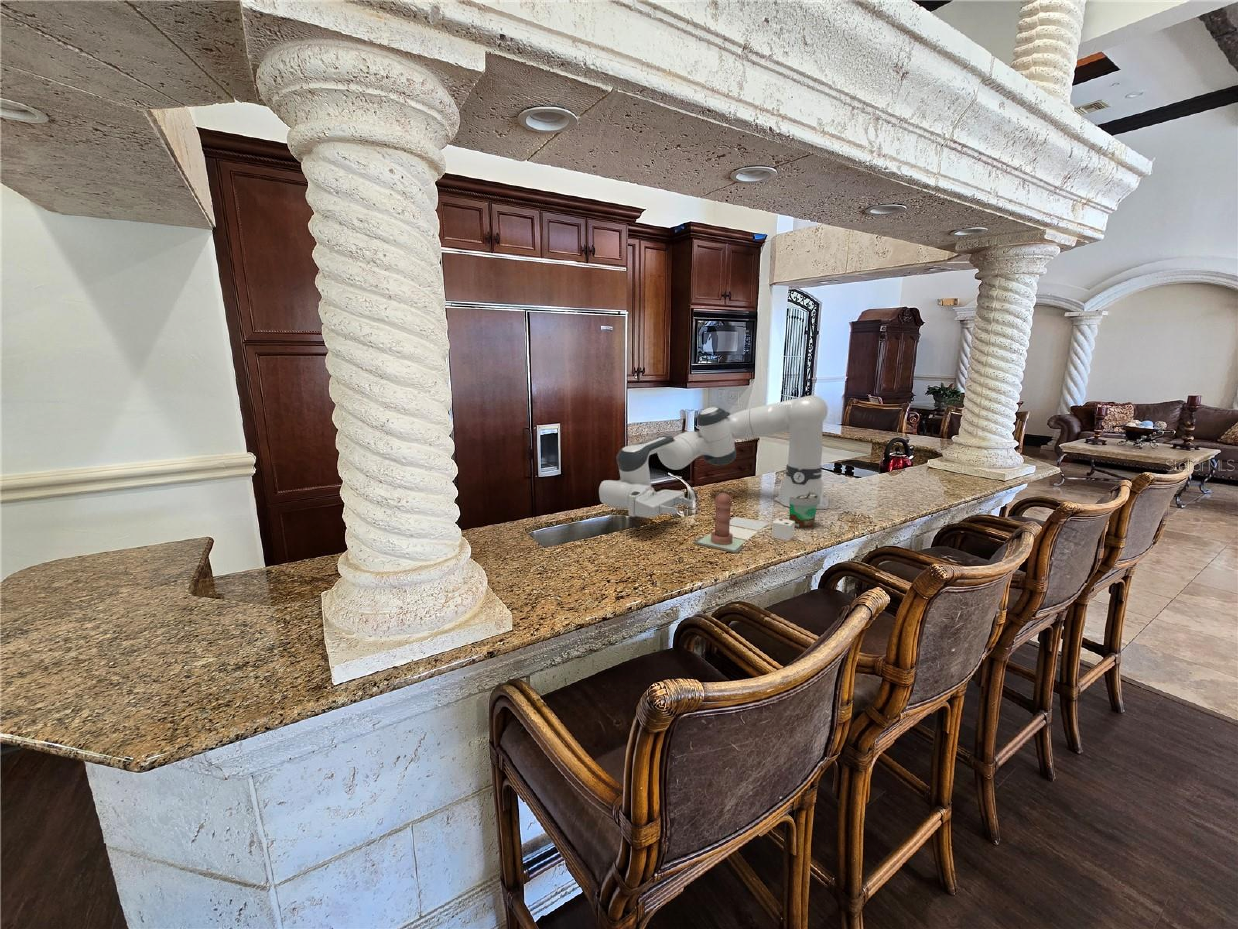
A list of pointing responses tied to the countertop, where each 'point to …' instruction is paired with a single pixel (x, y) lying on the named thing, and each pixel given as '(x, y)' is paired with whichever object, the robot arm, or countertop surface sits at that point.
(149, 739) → the countertop surface
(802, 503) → the food container
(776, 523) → the die
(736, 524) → the game board
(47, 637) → the countertop surface
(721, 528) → the pawn
